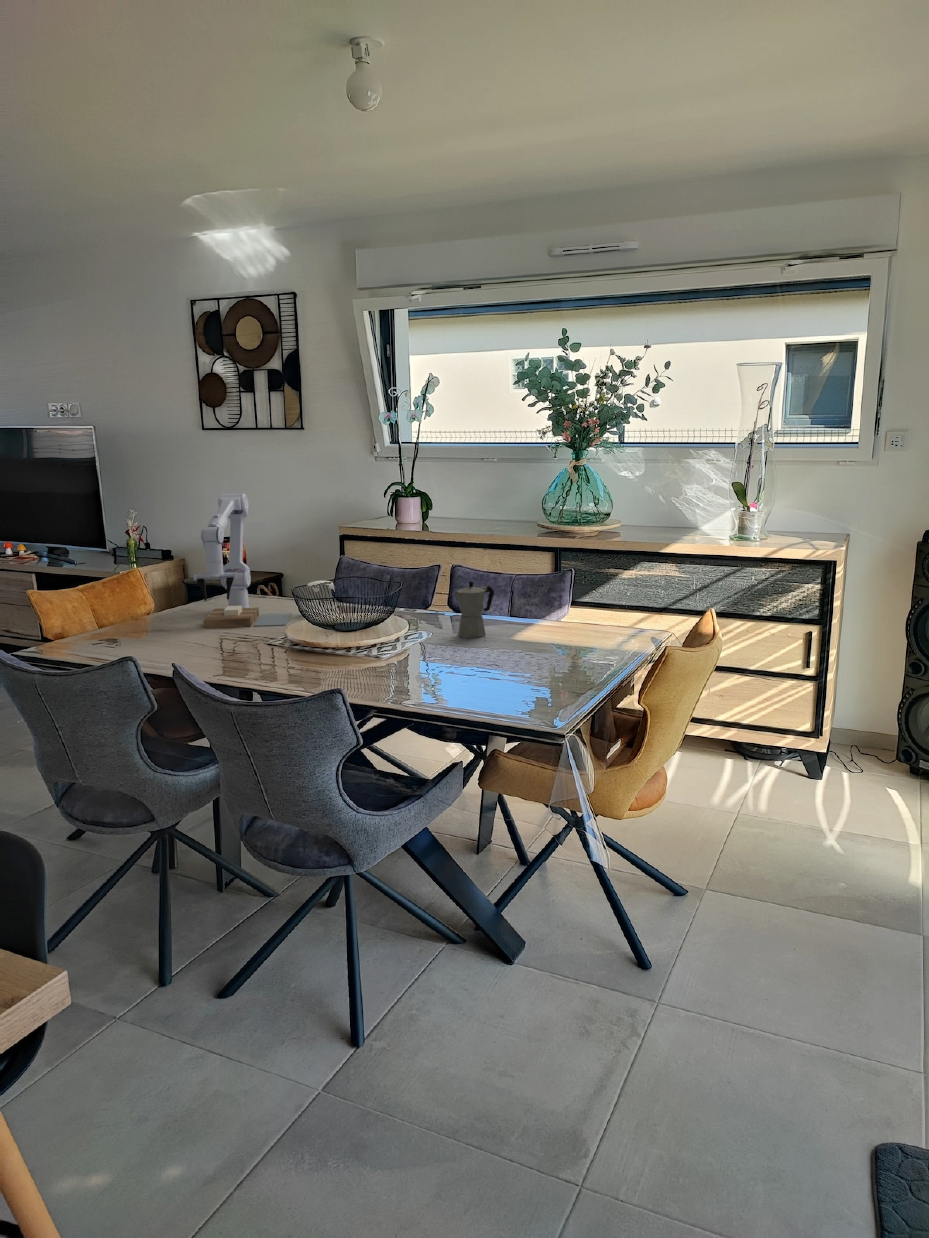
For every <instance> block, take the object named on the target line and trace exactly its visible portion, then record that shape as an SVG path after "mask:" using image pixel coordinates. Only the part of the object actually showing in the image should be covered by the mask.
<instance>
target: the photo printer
mask: <svg viewBox="0 0 929 1238" xmlns="http://www.w3.org/2000/svg"><path fill="white" fill-rule="evenodd" d="M324 582H331V581H329V580H315V581H311V582H309V583H307V585H306V587H307V586H312V585H317V584H320V583H324ZM326 585H329V588H330V589H333V590H334V591H335V586H334V582H332V583H331V584H326ZM317 587H319V586H317ZM313 590H314V591H315V592H318V591H319V588H314V587H313Z"/></svg>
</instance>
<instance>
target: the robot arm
mask: <svg viewBox="0 0 929 1238" xmlns="http://www.w3.org/2000/svg"><path fill="white" fill-rule="evenodd" d="M249 503H250V502H249V499H248V495H247V494H246V493H220V494H219V495H218V499H217V505H218V510H217V513H215V514H214V515H212V517H211V519H210V520H209V523H208V524H207V526H206V527H205V526H204V528H202V529H201V531H200V532H201V533H200V538H201V539H200V540H201V543H202V547H203V549H204V557H205V568H206V569H205V571H206V573H205V572H204V573H193V575H192V576H193V581H196V583H197V585H198V588H200V591H201V593H202V596H203V599H204V600H203V601H207V599H208V597H207V588H206V581H207V580H220V581H221V582H220V583H221V585H222V587H223V588H224V589H225V590H226V600H227V606H242V608H252V606H250V605H249V603H250V602H249V592H248V588H249V587H250V585H251V581H252V577H251V568H250V567H249V566H248V565H247V564H246V563H244V561H243V560H244V559H243V557H244V556H243V555H244V553H243V552H244V523H245V518H247V517H248V516H249ZM228 519H229V521H230V525H229V526H230V527H229V528H230V530H229V533H230V534H229V557H228V559H229V562H227V563H226V564H224V563H223V561H224V560H223V548H222V547H223V546H222V544H223V543H224V538H225V537H224V536H225V530H226V528H227V527H228V526H227V525H228V523H229V522H228Z"/></svg>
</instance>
